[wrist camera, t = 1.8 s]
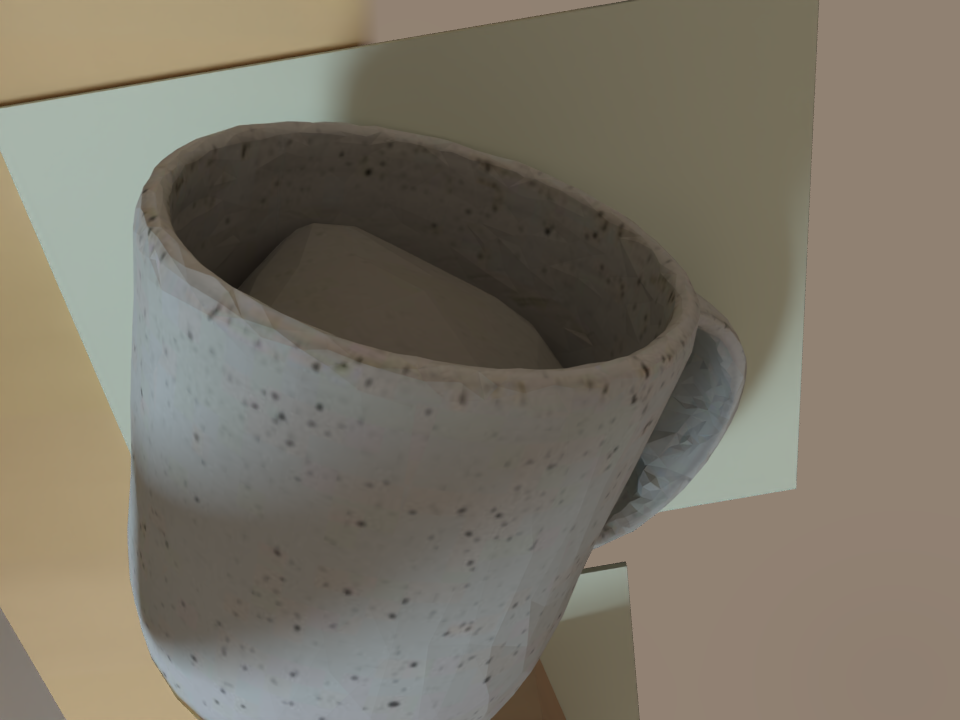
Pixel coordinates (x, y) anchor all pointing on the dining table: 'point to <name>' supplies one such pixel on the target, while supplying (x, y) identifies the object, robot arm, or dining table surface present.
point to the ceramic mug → (392, 416)
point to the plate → (595, 649)
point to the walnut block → (532, 700)
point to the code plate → (512, 135)
